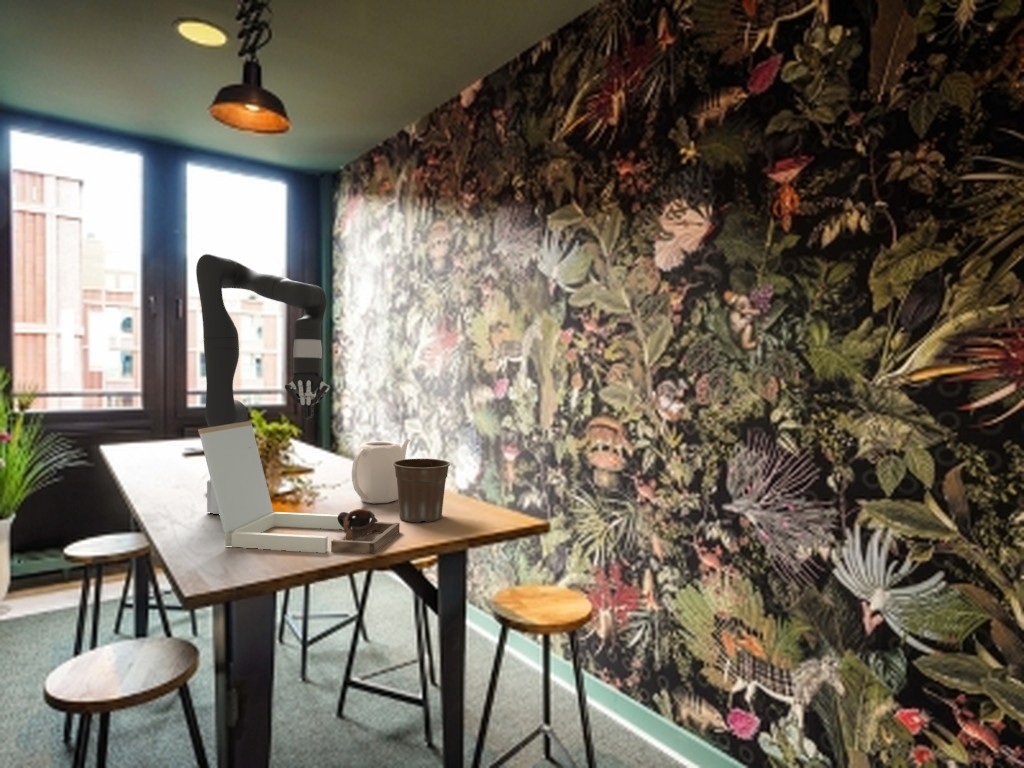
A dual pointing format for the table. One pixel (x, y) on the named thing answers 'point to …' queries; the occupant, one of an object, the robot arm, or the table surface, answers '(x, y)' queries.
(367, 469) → the watering can
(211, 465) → the cold frame
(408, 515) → the plant pot
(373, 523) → the pottery mug
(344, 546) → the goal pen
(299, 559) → the table surface
